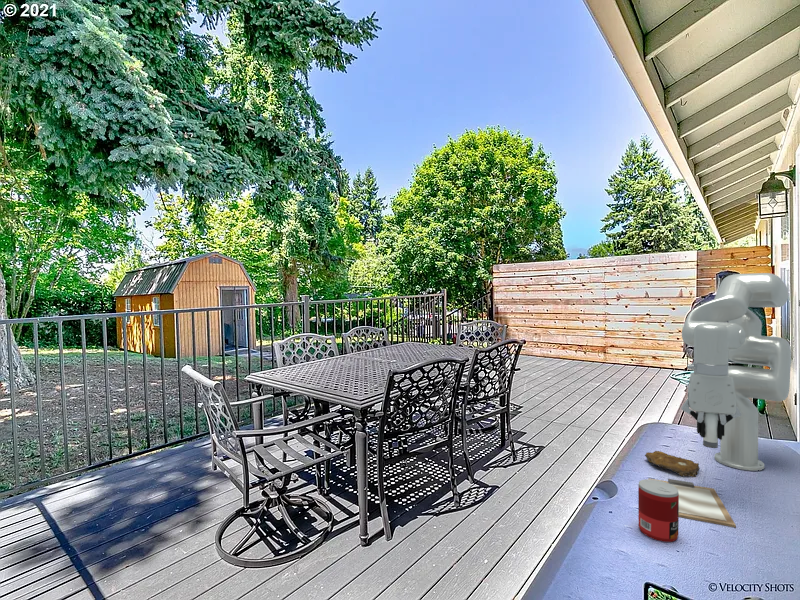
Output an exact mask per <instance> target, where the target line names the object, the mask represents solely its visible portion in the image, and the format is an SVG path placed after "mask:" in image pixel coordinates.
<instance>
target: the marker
mask: <svg viewBox="0 0 800 600" xmlns="http://www.w3.org/2000/svg"><path fill="white" fill-rule="evenodd" d="M703 420H704V423H705V437H704V438H703V437H702V446H703V447H705V448H709V449H718V447H719V446H718V445H719V439H718V414H716V413H705V412H704V415H703Z"/></svg>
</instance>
